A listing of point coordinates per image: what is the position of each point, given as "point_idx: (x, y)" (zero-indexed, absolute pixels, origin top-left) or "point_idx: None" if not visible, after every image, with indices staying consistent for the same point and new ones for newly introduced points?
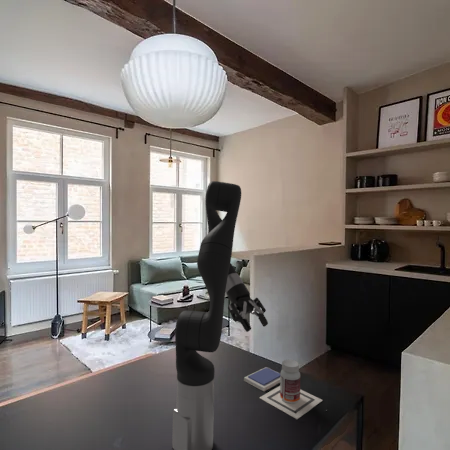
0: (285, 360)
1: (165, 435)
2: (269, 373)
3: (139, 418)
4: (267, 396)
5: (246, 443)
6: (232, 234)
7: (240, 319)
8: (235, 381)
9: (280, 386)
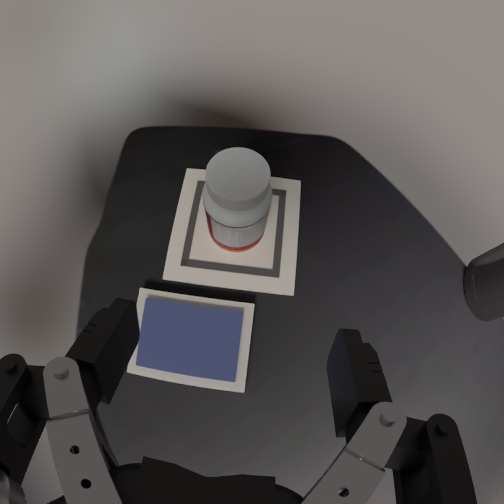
0: (230, 195)
1: (499, 344)
2: (165, 335)
3: (499, 414)
4: (272, 280)
5: (426, 224)
6: None
7: (409, 422)
8: (266, 409)
9: (257, 234)
